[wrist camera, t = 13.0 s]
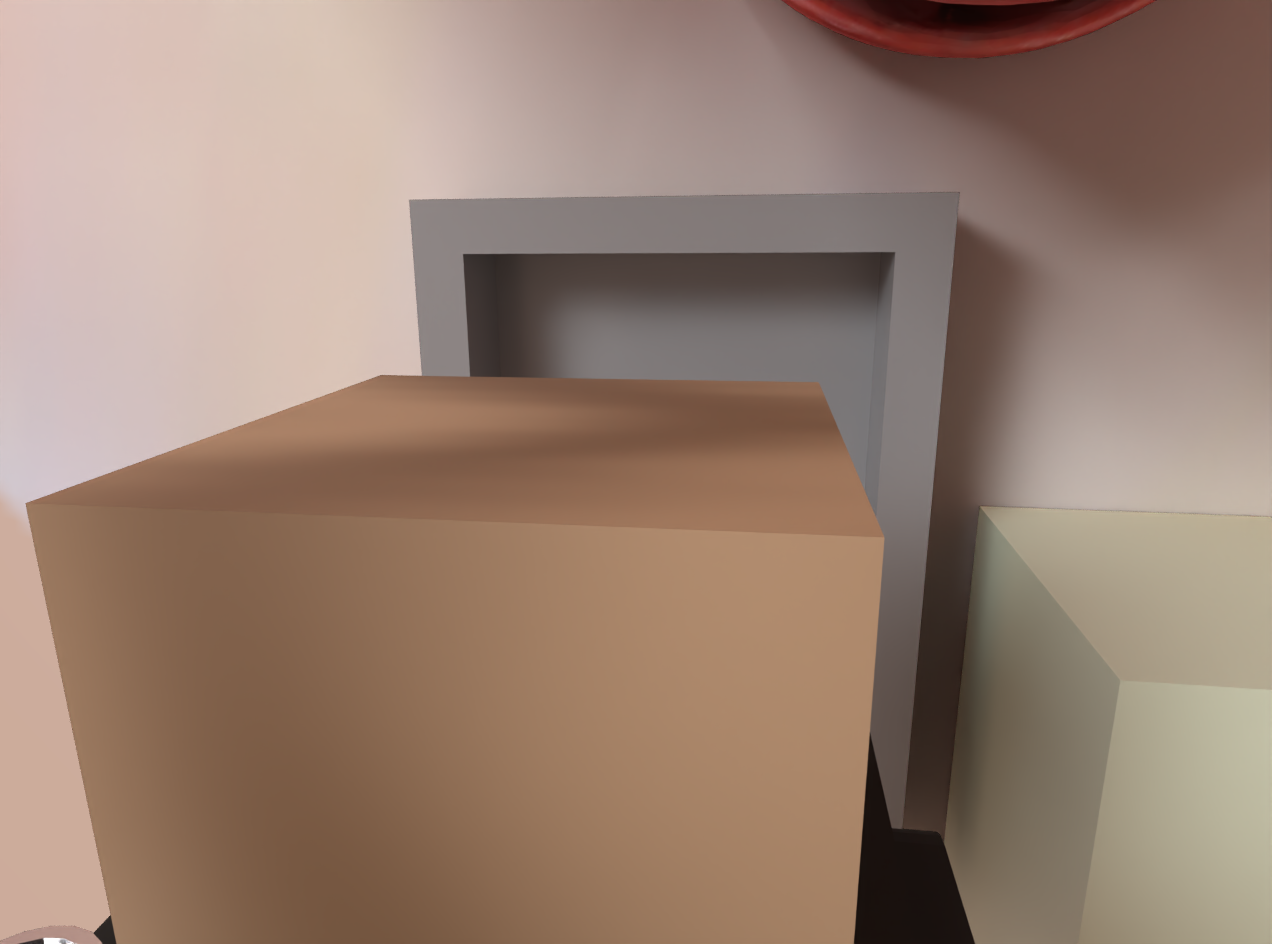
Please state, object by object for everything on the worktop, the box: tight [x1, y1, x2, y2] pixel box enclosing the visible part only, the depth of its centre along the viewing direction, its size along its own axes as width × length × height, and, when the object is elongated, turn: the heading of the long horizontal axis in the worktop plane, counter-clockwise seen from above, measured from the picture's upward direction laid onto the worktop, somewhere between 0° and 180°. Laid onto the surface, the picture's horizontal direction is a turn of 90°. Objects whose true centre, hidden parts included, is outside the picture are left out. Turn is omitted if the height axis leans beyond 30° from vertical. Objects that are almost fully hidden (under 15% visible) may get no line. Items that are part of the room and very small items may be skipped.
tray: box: [409, 192, 959, 829], centre depth 19 cm, size 10×15×3 cm, turn 0°
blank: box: [26, 375, 884, 944], centre depth 8 cm, size 5×10×5 cm, turn 0°
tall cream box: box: [944, 506, 1272, 944], centre depth 16 cm, size 8×12×8 cm
